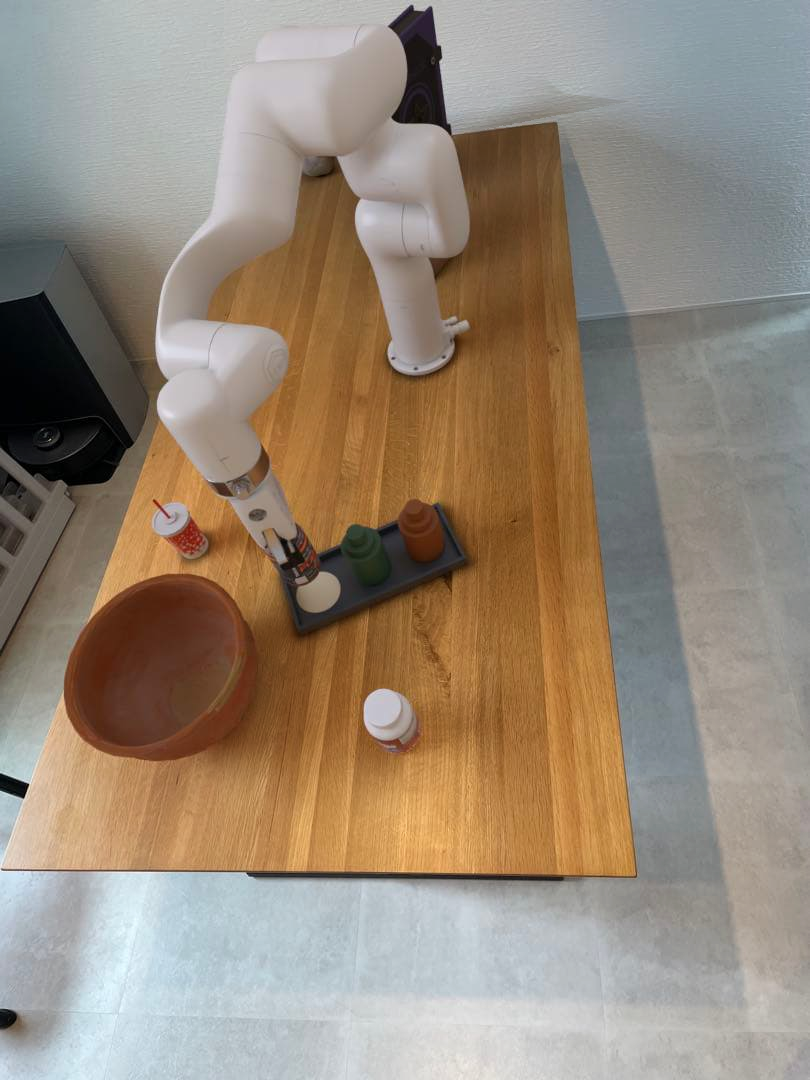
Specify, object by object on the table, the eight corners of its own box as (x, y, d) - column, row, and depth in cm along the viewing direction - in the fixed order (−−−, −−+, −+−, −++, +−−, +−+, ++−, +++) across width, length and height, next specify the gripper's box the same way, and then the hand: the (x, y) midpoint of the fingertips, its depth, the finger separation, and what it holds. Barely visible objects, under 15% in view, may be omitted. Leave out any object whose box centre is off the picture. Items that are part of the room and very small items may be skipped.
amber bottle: (436, 523, 107) (425, 482, 97) (451, 553, 103) (441, 514, 94) (401, 538, 106) (387, 499, 97) (415, 568, 103) (401, 531, 94)
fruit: (295, 184, 165) (278, 134, 155) (304, 161, 170) (288, 111, 159) (335, 181, 163) (320, 130, 152) (343, 158, 167) (329, 107, 157)
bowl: (236, 807, 90) (185, 784, 78) (91, 750, 98) (23, 720, 86) (311, 640, 101) (276, 595, 88) (174, 600, 109) (124, 554, 96)
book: (400, 216, 150) (369, 68, 125) (377, 211, 153) (342, 65, 128) (454, 155, 159) (435, 5, 133) (431, 151, 161) (409, 3, 136)
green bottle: (383, 546, 106) (367, 507, 97) (397, 576, 103) (381, 539, 94) (348, 561, 106) (328, 524, 97) (360, 592, 103) (341, 556, 94)
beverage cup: (218, 535, 114) (180, 487, 102) (202, 566, 111) (160, 520, 100) (188, 528, 116) (147, 480, 104) (171, 559, 113) (127, 513, 102)
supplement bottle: (316, 590, 96) (290, 550, 86) (277, 586, 97) (247, 546, 88) (326, 553, 99) (302, 510, 89) (289, 549, 100) (261, 507, 91)
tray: (440, 509, 109) (438, 502, 107) (468, 563, 103) (466, 557, 101) (282, 576, 108) (278, 570, 106) (301, 636, 102) (297, 630, 100)
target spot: (332, 565, 106) (332, 564, 106) (346, 601, 103) (346, 601, 102) (291, 582, 106) (291, 582, 106) (303, 620, 102) (303, 619, 102)
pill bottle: (367, 736, 92) (346, 711, 83) (396, 700, 94) (379, 672, 84) (402, 765, 89) (384, 743, 80) (431, 727, 91) (417, 701, 82)
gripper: (285, 508, 73) (331, 585, 88) (249, 402, 82) (296, 488, 97) (220, 535, 72) (277, 608, 87) (191, 426, 82) (247, 509, 97)
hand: (287, 544), depth 92 cm, fingers closed on supplement bottle, 6 cm apart
